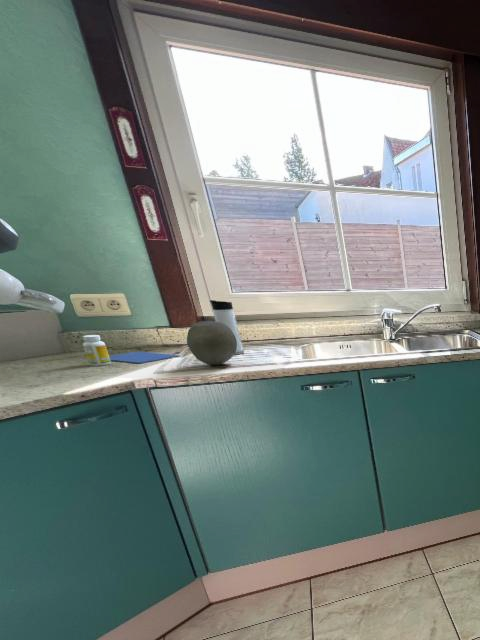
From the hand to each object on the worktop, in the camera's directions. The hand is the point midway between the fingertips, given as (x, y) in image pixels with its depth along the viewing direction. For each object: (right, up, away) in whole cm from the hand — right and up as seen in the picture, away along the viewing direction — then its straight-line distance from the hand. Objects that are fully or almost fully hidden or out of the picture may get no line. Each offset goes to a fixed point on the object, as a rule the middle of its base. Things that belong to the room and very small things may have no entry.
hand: (28, 304), depth 148 cm
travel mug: (+32, -7, +41) cm, 52 cm away
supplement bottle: (+3, -15, +18) cm, 24 cm away
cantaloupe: (+40, -15, +23) cm, 48 cm away
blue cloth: (+6, -11, +29) cm, 32 cm away
